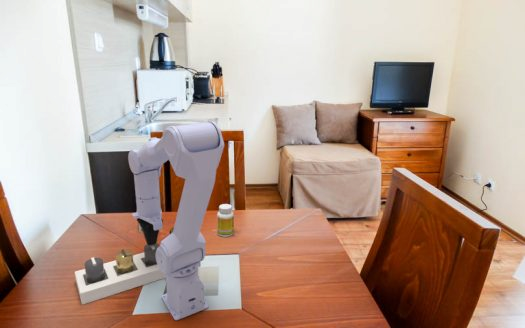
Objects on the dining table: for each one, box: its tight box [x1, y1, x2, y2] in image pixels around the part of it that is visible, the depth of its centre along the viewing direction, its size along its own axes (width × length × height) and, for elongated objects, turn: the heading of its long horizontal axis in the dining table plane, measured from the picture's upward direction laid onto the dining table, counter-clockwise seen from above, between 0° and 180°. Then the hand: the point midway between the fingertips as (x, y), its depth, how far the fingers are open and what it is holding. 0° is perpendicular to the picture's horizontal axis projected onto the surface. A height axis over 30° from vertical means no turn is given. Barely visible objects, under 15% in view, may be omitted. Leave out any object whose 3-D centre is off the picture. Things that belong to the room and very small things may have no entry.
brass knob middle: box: [114, 248, 134, 275], centre depth 89 cm, size 4×4×5 cm
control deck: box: [74, 252, 166, 305], centre depth 90 cm, size 10×22×3 cm, turn 124°
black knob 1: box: [84, 256, 105, 285], centre depth 85 cm, size 4×4×5 cm
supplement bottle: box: [216, 203, 235, 238], centre depth 113 cm, size 5×5×10 cm
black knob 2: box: [143, 242, 160, 267], centre depth 92 cm, size 4×4×5 cm
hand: (151, 243), depth 91 cm, fingers closed
